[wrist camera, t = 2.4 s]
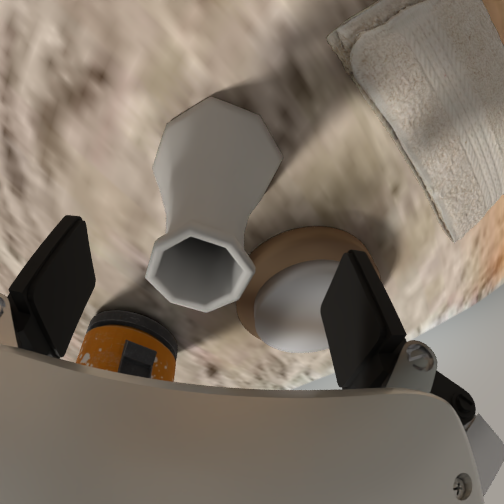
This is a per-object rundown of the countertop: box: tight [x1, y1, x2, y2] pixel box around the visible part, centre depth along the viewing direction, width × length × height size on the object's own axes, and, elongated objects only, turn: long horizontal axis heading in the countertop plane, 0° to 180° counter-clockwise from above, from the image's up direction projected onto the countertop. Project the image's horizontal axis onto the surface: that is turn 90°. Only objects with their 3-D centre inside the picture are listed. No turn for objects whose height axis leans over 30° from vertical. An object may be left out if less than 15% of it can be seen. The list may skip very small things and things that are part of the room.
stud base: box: [236, 226, 381, 353], centre depth 22 cm, size 11×11×4 cm
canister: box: [76, 310, 178, 382], centre depth 18 cm, size 9×11×20 cm
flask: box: [145, 96, 283, 313], centre depth 13 cm, size 7×7×10 cm
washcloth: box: [326, 0, 504, 243], centre depth 13 cm, size 12×18×3 cm, turn 45°
